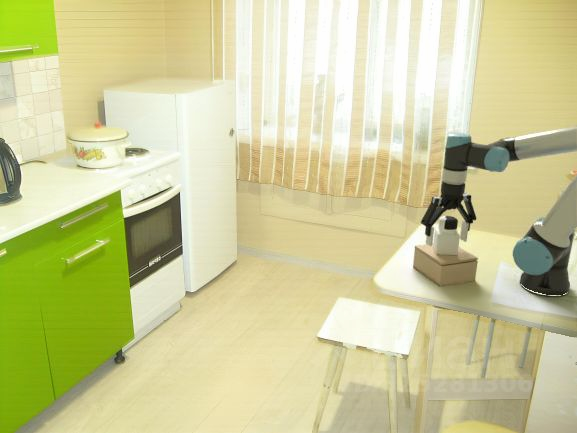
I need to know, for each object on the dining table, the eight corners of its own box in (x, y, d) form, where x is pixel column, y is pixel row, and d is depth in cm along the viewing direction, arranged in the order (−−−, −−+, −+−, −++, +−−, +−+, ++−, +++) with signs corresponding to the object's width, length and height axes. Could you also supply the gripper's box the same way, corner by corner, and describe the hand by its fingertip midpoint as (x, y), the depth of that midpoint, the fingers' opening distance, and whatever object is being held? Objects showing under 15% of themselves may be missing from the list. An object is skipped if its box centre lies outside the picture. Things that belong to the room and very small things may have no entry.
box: (475, 280, 204) (477, 261, 202) (439, 286, 199) (441, 266, 197) (446, 262, 218) (449, 243, 216) (412, 266, 213) (414, 248, 211)
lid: (477, 260, 202) (477, 257, 202) (441, 265, 197) (441, 262, 197) (448, 243, 216) (449, 241, 216) (414, 247, 211) (414, 245, 211)
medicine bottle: (454, 248, 210) (457, 214, 206) (457, 255, 203) (461, 221, 199) (433, 246, 210) (436, 213, 206) (435, 254, 204) (439, 220, 200)
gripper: (478, 175, 206) (470, 234, 213) (414, 181, 197) (408, 242, 204) (492, 181, 199) (484, 242, 207) (427, 187, 191) (420, 250, 198)
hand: (446, 242), depth 206 cm, fingers open, 13 cm apart
